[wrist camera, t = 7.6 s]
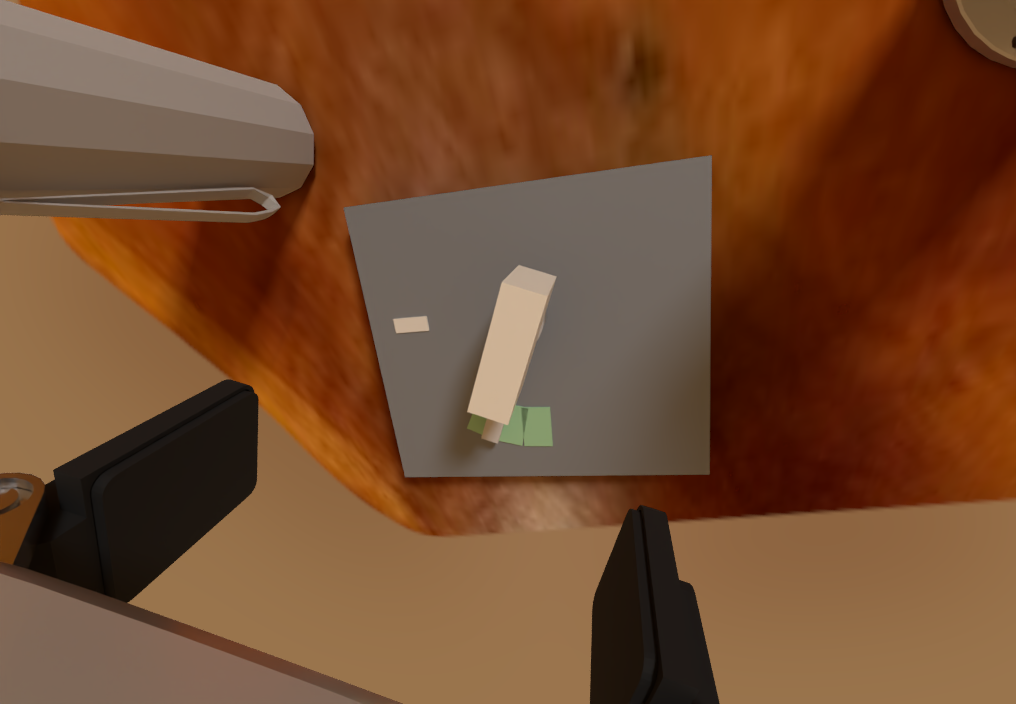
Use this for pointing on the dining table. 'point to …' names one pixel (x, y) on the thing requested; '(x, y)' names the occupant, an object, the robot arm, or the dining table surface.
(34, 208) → the water bottle
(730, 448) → the dining table surface
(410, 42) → the dining table surface
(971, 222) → the dining table surface
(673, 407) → the grey square board
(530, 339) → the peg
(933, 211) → the dining table surface
